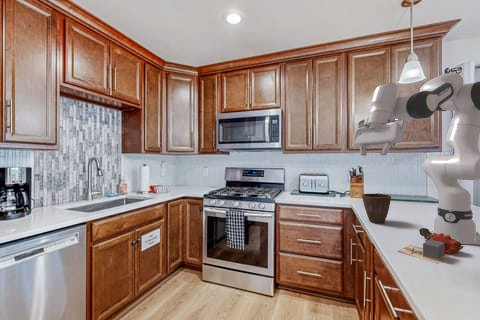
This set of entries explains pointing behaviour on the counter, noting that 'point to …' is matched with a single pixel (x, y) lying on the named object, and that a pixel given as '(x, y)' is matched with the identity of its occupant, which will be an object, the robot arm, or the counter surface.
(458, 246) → the dragon fruit
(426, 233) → the dark brown rough rod
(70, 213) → the counter surface
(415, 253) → the pine board
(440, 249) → the block
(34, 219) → the counter surface
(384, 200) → the plant pot
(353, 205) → the counter surface
